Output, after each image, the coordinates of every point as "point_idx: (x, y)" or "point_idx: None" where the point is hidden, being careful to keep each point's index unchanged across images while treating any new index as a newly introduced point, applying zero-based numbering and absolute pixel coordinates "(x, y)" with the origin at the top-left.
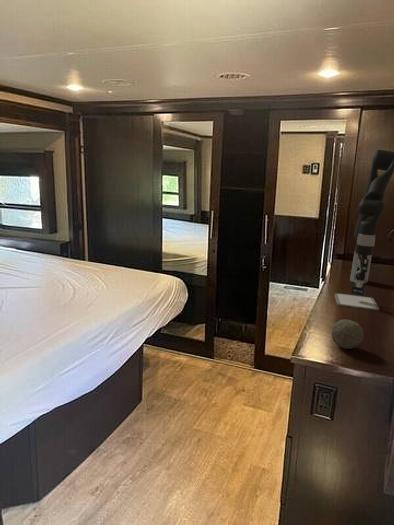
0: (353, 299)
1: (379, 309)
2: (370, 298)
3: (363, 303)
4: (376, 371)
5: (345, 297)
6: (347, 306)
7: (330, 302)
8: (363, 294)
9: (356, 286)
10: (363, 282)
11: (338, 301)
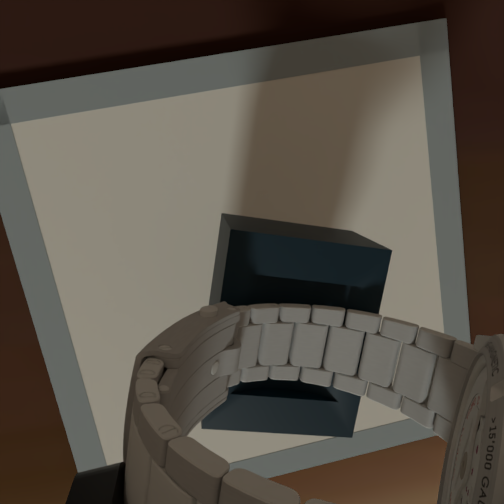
0: None
1: (443, 24)
2: (31, 124)
3: (312, 201)
4: None
5: None
6: (463, 339)
7: (410, 485)
8: (356, 235)
9: (380, 386)
10: (215, 311)
11: (389, 435)
